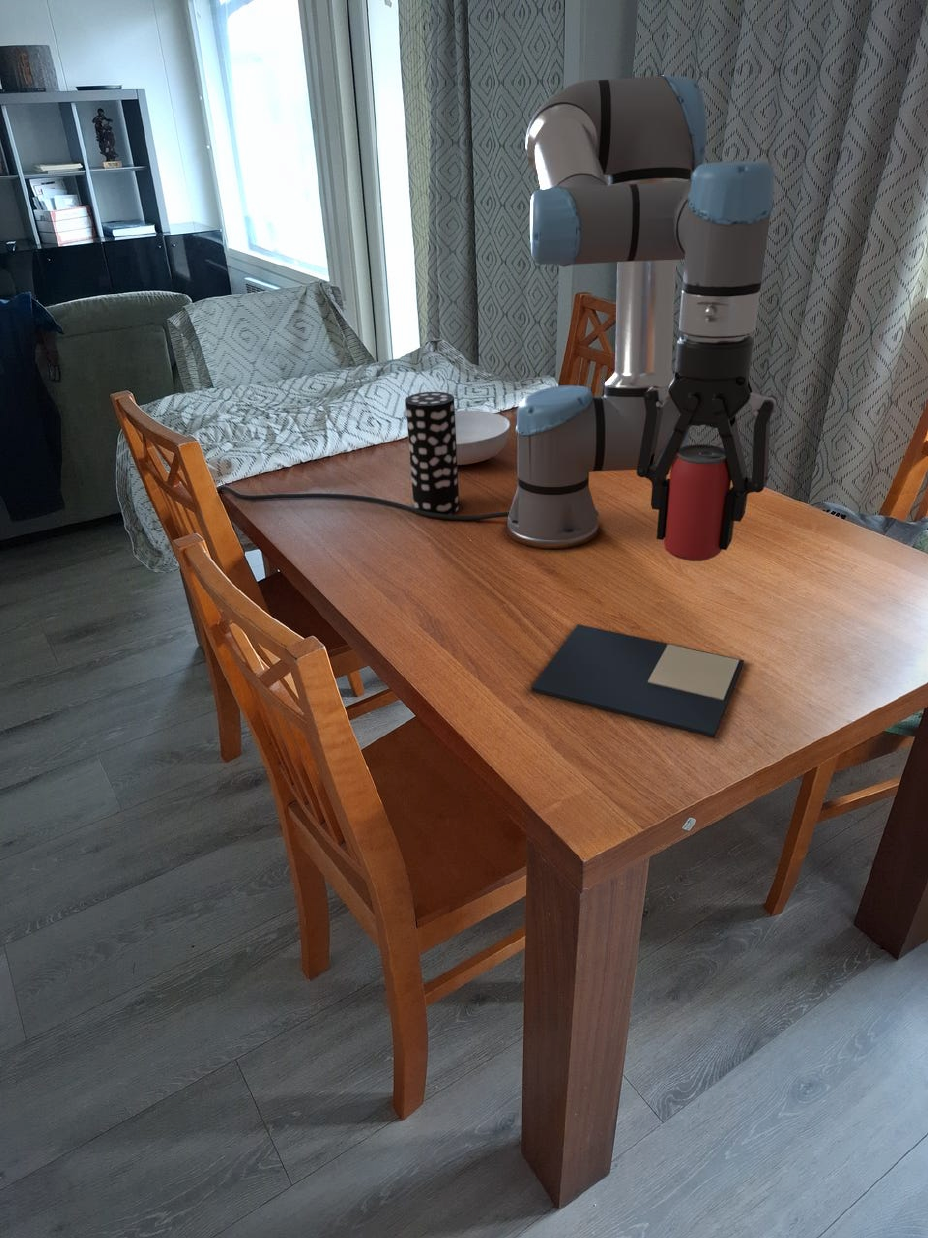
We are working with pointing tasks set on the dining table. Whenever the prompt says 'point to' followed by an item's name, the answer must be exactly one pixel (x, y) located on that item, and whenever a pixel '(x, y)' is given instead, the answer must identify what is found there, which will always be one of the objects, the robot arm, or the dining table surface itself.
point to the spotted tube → (433, 451)
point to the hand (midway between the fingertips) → (693, 539)
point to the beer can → (697, 502)
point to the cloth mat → (642, 679)
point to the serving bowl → (479, 435)
